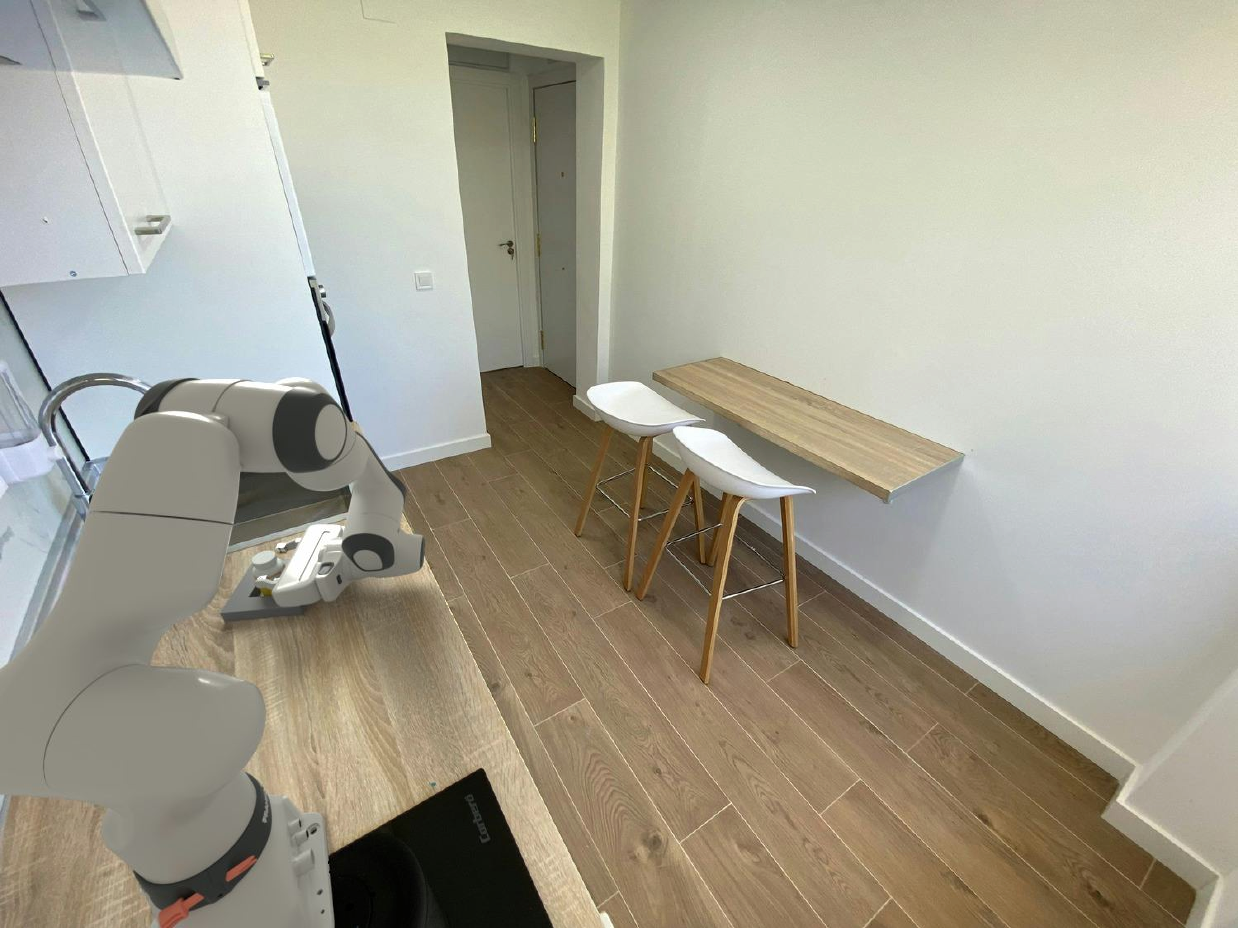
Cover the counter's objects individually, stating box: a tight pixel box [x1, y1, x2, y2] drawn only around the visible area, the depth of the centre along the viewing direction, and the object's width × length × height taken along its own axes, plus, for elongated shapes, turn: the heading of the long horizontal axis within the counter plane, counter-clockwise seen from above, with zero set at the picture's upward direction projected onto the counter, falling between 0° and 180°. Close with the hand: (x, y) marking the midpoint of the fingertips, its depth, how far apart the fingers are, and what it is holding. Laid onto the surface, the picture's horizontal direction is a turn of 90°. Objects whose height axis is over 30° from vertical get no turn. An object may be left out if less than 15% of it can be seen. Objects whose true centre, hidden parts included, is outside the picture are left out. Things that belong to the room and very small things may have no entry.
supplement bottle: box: [251, 550, 285, 596], centre depth 101 cm, size 5×5×10 cm
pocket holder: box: [219, 558, 309, 623], centre depth 103 cm, size 14×14×2 cm
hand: (267, 564), depth 100 cm, fingers open, 8 cm apart
